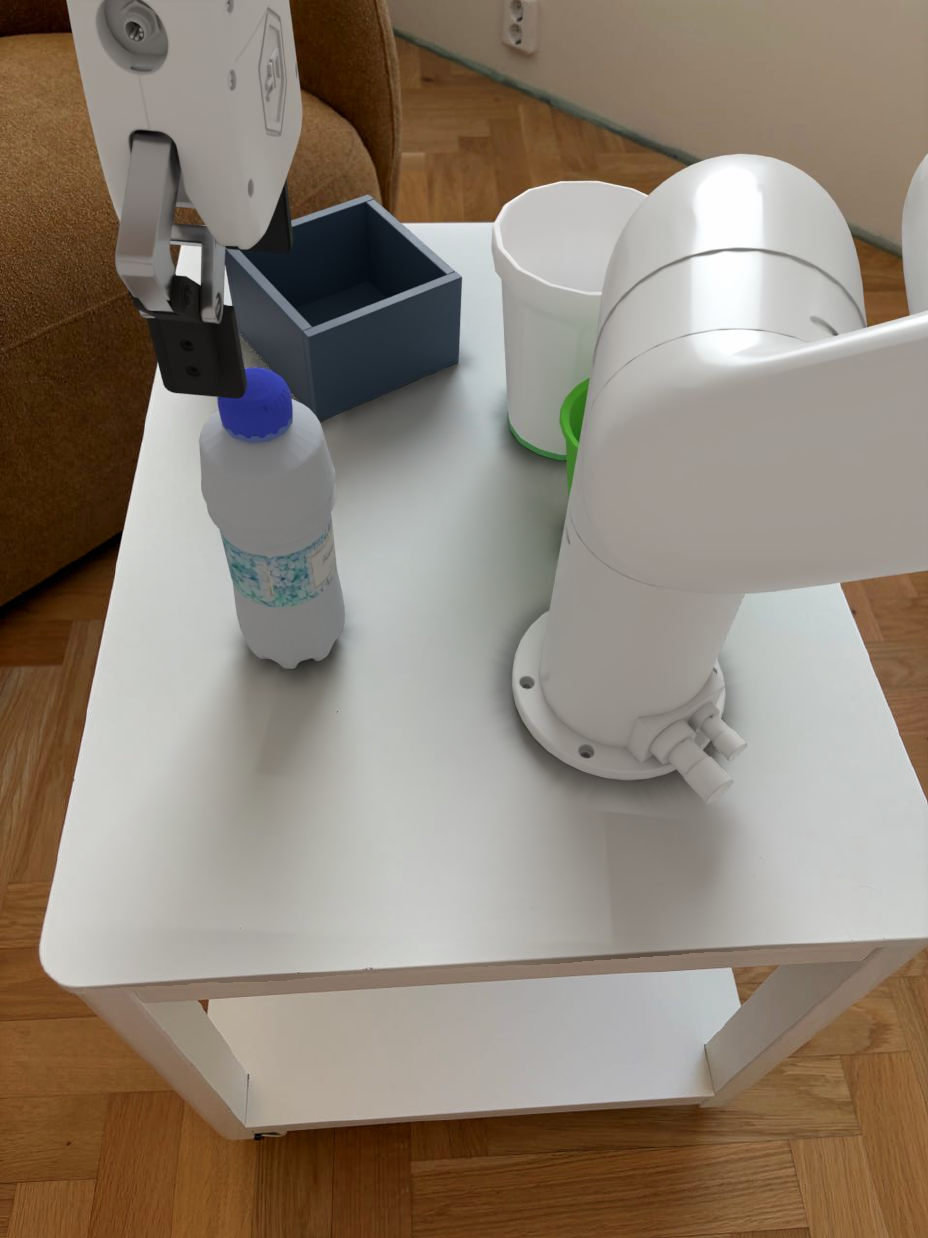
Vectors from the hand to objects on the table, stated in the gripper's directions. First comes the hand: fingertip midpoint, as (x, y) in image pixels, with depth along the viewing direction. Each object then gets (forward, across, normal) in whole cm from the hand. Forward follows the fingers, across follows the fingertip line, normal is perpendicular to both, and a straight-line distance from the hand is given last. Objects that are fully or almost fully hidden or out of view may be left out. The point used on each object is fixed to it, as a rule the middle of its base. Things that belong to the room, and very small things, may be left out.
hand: (234, 314), depth 42 cm
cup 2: (+24, +10, -20) cm, 32 cm away
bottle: (+24, 0, 0) cm, 24 cm away
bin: (+24, +28, +1) cm, 36 cm away
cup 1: (+24, +21, -16) cm, 36 cm away
